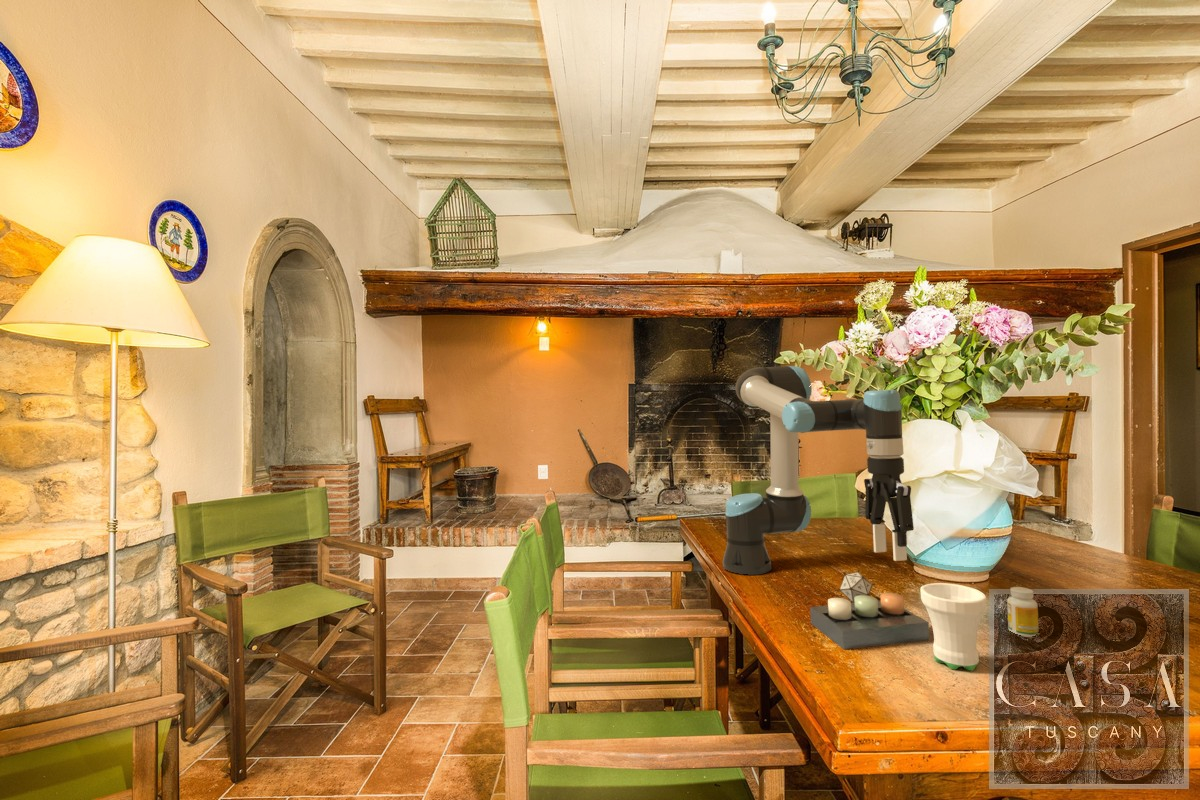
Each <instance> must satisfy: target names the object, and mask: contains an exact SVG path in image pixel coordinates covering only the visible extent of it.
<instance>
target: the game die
mask: <svg viewBox="0 0 1200 800" xmlns="http://www.w3.org/2000/svg"><path fill="white" fill-rule="evenodd" d="M856 571H857V572H852V573H847V574H846V573H845V572H844V571H843V572H842V574H843V575H844V577H842V578H841V579H842V580H841V581H842V582H841V584H840V588H837V589H836V591H837V592H841V593H842V594H843V595H844V596H845V597H846V598H847V600H849V601H850V602H851V603H855V601H854V597H855V596H859V595H866V596H871V595H870V594H871V591H872V588H873V586H876V583H872V582H871V581H869V580H868V578H866V577H865V575H864V574H863V575H862V574H861V573H860V569H857V570H856Z"/></svg>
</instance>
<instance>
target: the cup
mask: <svg viewBox="0 0 1200 800" xmlns="http://www.w3.org/2000/svg"><path fill="white" fill-rule="evenodd" d="M920 600H921V602H922V603H923V605H924V606H925V609H926V611H927V613H928V616H929V619H930V623H931V626H932V627H931V628H932V631H933V639H934V640H933V645H932V651H933V652H932V653H933V658H934V660H935V662H937V663H939V664H943V663H944V664H945V665H947V668H949V669H951V670H958V669H959V668H961V667H963V668H964V669H965V670H966V671H967V670H968V671H970V672H971V671H975V668H976V667H977V665H978V664H979V663H980V661H979V660H980V659H979V650H978V649H977V648H978V647H977V645H978V644H977V643H978V641H977V640H978V630H979V627H980V625H981V624H980V623H981V621H982V618H983V615H984V614H985V613H986V612H987V610H988V609H987V606H988V605H987V596H986V594H984V593H983V592H982V591H980V590H978V589H976V588H974V587H970V586H967V585H961V584H957V583H946V582H935V583H934V582H933V583H927V584H924V585H922V586H921V587H920Z"/></svg>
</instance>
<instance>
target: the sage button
mask: <svg viewBox="0 0 1200 800" xmlns="http://www.w3.org/2000/svg"><path fill="white" fill-rule="evenodd" d="M854 601H855V613H856V614H858V615H860V616H864V617H876V616H878V601H879V600H878V599H877V598H876V597H873V596H872V595H870V596H866V595H859V596H855V597H854Z"/></svg>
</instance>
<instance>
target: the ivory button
mask: <svg viewBox="0 0 1200 800" xmlns="http://www.w3.org/2000/svg"><path fill="white" fill-rule="evenodd" d="M851 603H852V601H851V600H850V599H848V598H847V599H846V598H842V597H831V598H828V599H827V605H828V612H829V616H830V617H832V618H835V619H840V620H847V619H850V618H851V617H852V616H851Z"/></svg>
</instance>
